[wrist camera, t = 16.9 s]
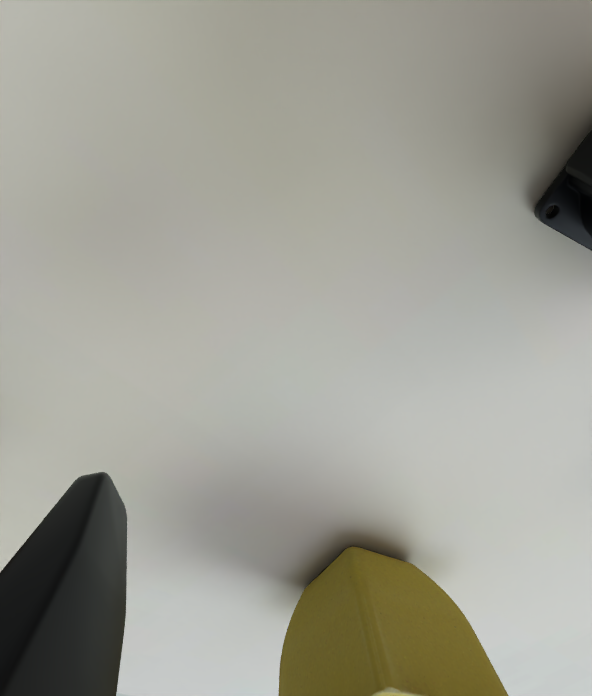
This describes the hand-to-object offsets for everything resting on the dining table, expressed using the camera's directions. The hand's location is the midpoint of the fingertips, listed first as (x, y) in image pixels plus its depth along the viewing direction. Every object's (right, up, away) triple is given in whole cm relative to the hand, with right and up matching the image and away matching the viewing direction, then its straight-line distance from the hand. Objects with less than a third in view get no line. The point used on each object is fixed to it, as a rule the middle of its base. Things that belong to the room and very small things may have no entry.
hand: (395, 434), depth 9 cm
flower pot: (+2, -13, +25) cm, 28 cm away
